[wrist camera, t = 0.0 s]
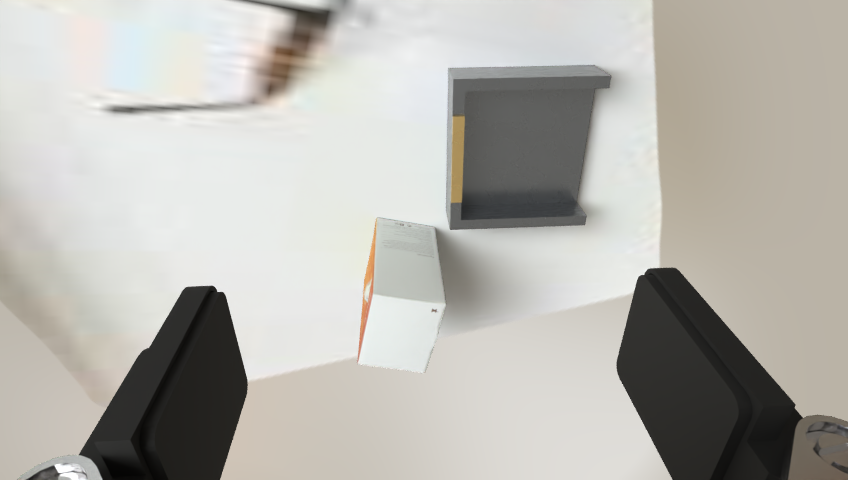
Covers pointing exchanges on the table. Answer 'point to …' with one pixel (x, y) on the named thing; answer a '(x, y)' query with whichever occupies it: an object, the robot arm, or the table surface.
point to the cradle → (517, 144)
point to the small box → (401, 297)
